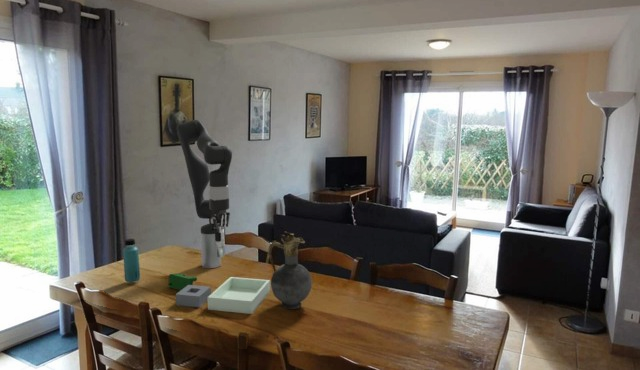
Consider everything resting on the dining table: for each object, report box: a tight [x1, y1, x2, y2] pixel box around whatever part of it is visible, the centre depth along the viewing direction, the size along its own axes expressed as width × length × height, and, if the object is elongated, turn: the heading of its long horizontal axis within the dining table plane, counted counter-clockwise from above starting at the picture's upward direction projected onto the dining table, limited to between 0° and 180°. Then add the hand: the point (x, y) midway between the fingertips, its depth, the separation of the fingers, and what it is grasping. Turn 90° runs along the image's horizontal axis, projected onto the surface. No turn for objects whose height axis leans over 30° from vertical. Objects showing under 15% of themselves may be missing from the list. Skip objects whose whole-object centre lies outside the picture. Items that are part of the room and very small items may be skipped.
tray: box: [207, 276, 271, 315], centre depth 175 cm, size 22×18×5 cm
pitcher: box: [267, 231, 313, 310], centre depth 169 cm, size 11×19×30 cm, turn 57°
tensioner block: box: [175, 284, 212, 308], centre depth 174 cm, size 10×10×4 cm
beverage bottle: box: [122, 238, 141, 283], centre depth 191 cm, size 6×7×20 cm
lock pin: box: [216, 226, 226, 258], centre depth 171 cm, size 3×3×12 cm
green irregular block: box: [167, 272, 198, 291], centre depth 188 cm, size 12×6×9 cm, turn 56°
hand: (220, 239), depth 170 cm, fingers closed on lock pin, 3 cm apart
